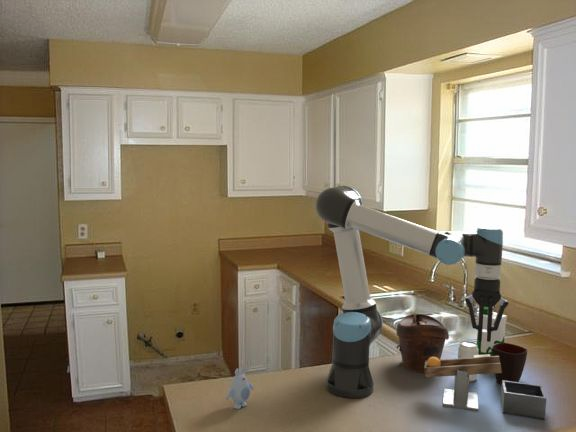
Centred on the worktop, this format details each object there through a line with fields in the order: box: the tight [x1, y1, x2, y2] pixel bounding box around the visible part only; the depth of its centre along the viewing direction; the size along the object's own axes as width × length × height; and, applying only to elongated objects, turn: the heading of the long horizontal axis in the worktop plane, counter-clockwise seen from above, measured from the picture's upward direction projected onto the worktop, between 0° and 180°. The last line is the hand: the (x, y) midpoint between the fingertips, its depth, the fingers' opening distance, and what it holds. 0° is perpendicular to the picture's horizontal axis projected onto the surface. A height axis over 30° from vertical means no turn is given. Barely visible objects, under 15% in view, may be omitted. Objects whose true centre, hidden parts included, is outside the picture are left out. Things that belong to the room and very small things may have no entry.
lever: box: [424, 354, 502, 378], centre depth 169 cm, size 22×14×3 cm, turn 72°
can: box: [457, 340, 478, 383], centre depth 184 cm, size 6×6×12 cm
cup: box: [492, 342, 528, 386], centre depth 182 cm, size 10×14×12 cm
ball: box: [427, 357, 441, 367], centre depth 169 cm, size 4×4×4 cm
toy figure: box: [225, 366, 254, 410], centre depth 159 cm, size 11×6×12 cm, turn 136°
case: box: [396, 313, 450, 373], centre depth 194 cm, size 18×20×18 cm
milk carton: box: [476, 307, 508, 356], centre depth 198 cm, size 9×9×20 cm
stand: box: [442, 369, 479, 412], centre depth 167 cm, size 10×11×11 cm
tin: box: [500, 380, 547, 421], centre depth 162 cm, size 11×9×6 cm
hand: (483, 350), depth 170 cm, fingers closed
